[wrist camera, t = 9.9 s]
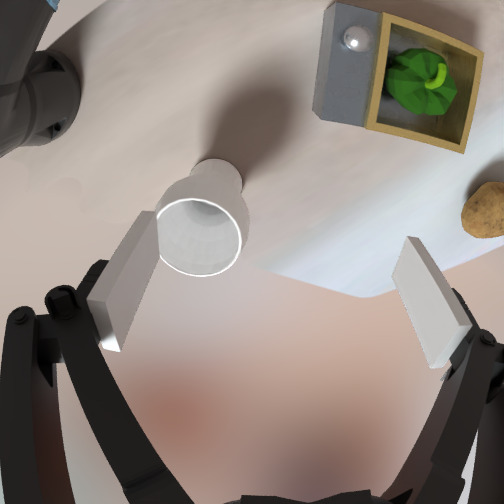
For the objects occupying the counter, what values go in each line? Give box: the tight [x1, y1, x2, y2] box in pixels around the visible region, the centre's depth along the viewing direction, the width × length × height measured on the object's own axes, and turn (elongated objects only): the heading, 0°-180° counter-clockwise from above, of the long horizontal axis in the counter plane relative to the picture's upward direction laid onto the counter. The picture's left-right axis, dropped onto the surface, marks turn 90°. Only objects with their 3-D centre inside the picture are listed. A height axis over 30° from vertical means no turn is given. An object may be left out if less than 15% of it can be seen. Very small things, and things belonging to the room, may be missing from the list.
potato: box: [461, 181, 504, 238], centre depth 40 cm, size 10×14×8 cm
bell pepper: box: [384, 48, 457, 115], centre depth 30 cm, size 8×8×10 cm
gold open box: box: [312, 2, 484, 154], centre depth 31 cm, size 19×14×9 cm
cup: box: [155, 159, 250, 277], centre depth 39 cm, size 11×11×15 cm
